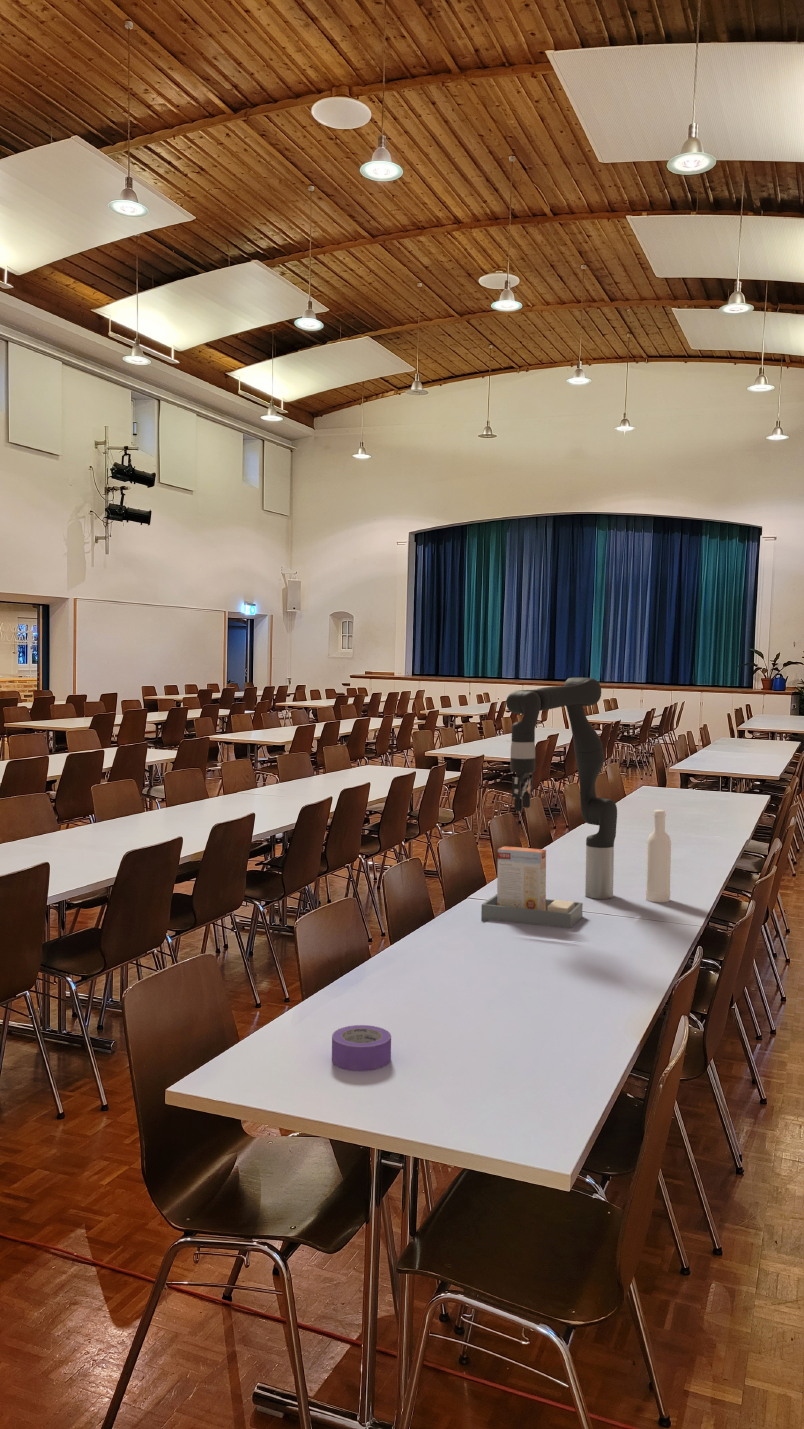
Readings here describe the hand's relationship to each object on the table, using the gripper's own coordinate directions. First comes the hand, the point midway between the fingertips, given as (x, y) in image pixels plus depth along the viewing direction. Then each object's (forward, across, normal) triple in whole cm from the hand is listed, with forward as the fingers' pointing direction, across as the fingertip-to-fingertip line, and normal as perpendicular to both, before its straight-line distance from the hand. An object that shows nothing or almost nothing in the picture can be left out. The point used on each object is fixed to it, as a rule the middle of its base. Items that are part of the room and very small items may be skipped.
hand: (522, 809), depth 307 cm
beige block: (+33, 0, -12) cm, 35 cm away
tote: (+34, 0, -4) cm, 34 cm away
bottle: (+34, +42, -34) cm, 64 cm away
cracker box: (+33, 0, 0) cm, 33 cm away
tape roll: (+34, -118, -3) cm, 123 cm away
